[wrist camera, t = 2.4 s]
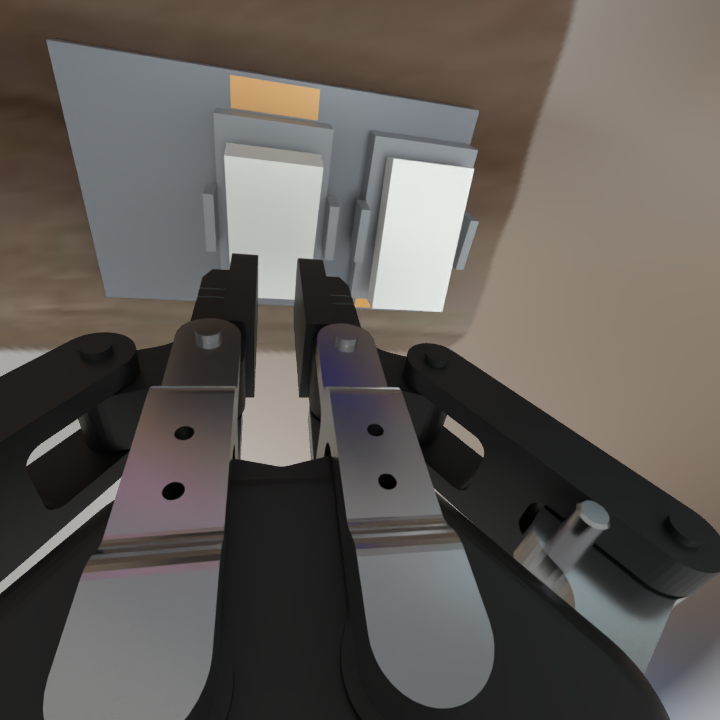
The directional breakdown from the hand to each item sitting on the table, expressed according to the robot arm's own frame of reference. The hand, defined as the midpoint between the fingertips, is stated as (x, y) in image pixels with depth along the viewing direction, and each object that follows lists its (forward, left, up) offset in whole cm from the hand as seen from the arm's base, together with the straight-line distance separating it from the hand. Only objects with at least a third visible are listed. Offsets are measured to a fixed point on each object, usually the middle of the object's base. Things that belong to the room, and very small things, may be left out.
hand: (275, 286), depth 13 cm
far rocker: (+8, -3, -12) cm, 14 cm away
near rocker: (0, -3, -12) cm, 12 cm away
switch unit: (0, -3, -15) cm, 15 cm away
